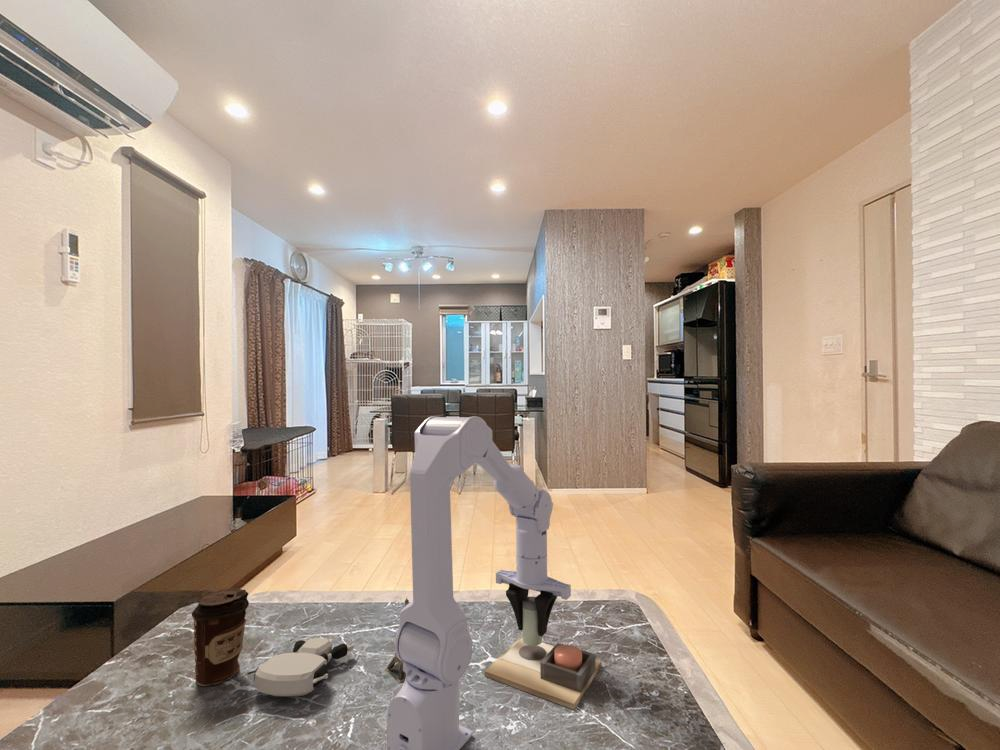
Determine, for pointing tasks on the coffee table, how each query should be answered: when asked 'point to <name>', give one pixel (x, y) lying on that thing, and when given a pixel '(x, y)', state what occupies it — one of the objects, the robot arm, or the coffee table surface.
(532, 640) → the green capped bottle
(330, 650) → the robot toy
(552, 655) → the wooden base tray
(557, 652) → the button
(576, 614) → the coffee table surface
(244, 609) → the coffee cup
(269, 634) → the coffee table surface
